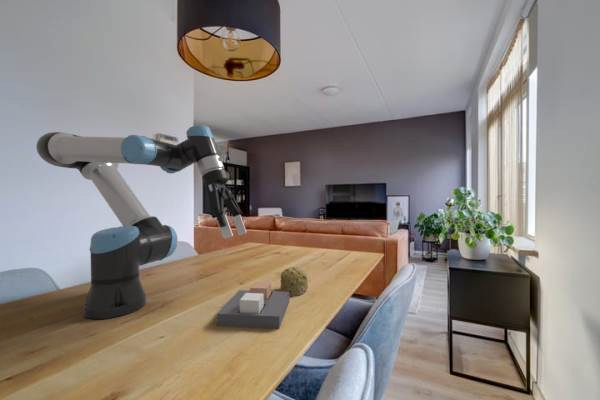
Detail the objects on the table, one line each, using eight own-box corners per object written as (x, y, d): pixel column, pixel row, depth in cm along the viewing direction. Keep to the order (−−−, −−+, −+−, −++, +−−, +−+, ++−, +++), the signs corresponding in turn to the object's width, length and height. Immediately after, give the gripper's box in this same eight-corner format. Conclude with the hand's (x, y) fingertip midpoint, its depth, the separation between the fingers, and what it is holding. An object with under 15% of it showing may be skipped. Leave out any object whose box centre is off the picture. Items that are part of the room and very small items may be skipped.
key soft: (239, 313, 68) (239, 299, 68) (245, 305, 73) (245, 292, 73) (258, 314, 67) (258, 300, 67) (263, 306, 72) (263, 293, 72)
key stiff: (250, 299, 77) (250, 287, 77) (254, 293, 82) (254, 282, 82) (267, 300, 76) (267, 288, 76) (270, 294, 81) (270, 282, 81)
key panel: (216, 325, 67) (216, 313, 67) (239, 299, 84) (239, 290, 84) (279, 328, 65) (279, 316, 65) (289, 301, 82) (289, 291, 82)
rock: (276, 301, 92) (270, 281, 87) (290, 277, 100) (285, 257, 95) (301, 308, 88) (296, 287, 83) (313, 282, 96) (310, 262, 91)
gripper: (207, 160, 72) (233, 234, 70) (237, 174, 97) (257, 229, 95) (182, 170, 72) (207, 244, 70) (218, 182, 97) (238, 236, 95)
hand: (236, 235), depth 83 cm, fingers open, 13 cm apart
